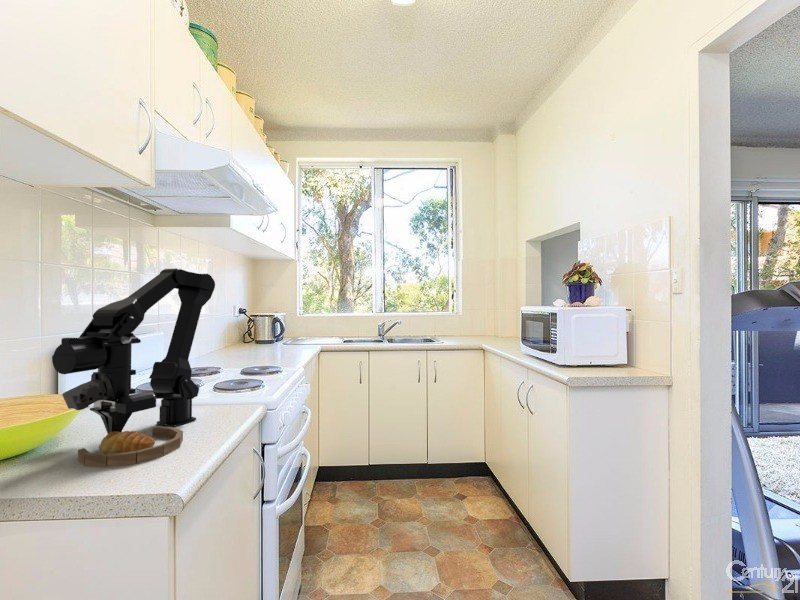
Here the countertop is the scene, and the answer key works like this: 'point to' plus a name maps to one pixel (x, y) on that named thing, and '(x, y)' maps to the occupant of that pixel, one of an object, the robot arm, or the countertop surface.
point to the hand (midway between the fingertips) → (113, 440)
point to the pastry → (125, 442)
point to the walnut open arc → (135, 456)
